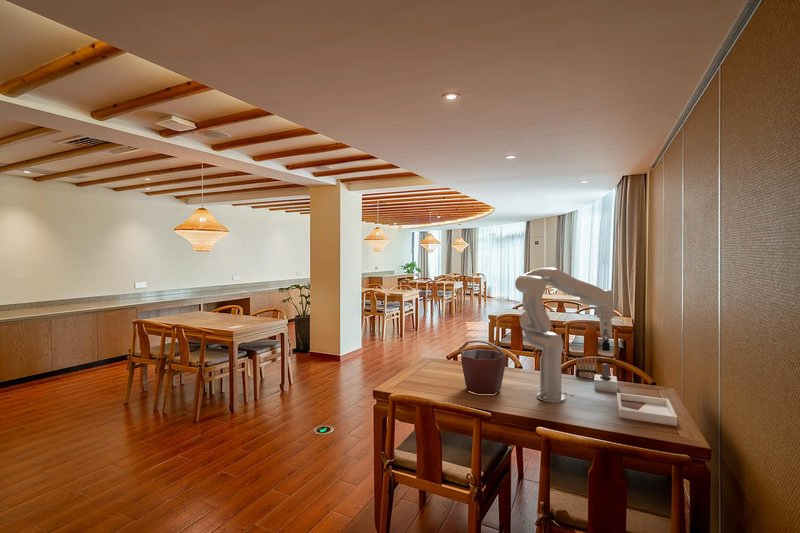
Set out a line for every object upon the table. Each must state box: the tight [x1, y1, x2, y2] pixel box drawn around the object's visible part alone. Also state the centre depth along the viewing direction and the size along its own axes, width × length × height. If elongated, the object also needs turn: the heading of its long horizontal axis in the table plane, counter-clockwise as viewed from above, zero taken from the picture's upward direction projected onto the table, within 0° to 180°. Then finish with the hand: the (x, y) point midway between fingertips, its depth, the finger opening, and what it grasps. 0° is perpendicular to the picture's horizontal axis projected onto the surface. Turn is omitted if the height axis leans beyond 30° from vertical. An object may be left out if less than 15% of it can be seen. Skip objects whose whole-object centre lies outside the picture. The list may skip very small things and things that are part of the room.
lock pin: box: [601, 362, 610, 380], centre depth 197 cm, size 3×3×12 cm
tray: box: [616, 392, 678, 427], centre depth 169 cm, size 22×20×4 cm
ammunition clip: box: [575, 356, 598, 379], centre depth 216 cm, size 11×2×12 cm, turn 67°
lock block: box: [593, 373, 618, 394], centre depth 197 cm, size 10×10×6 cm
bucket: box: [458, 340, 507, 394], centre depth 201 cm, size 24×22×25 cm
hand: (605, 348), depth 197 cm, fingers open, 9 cm apart
